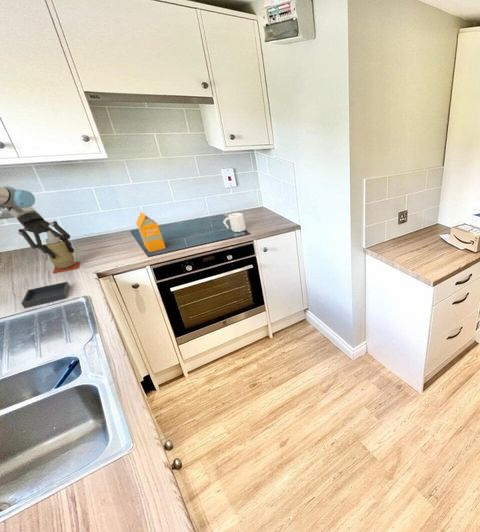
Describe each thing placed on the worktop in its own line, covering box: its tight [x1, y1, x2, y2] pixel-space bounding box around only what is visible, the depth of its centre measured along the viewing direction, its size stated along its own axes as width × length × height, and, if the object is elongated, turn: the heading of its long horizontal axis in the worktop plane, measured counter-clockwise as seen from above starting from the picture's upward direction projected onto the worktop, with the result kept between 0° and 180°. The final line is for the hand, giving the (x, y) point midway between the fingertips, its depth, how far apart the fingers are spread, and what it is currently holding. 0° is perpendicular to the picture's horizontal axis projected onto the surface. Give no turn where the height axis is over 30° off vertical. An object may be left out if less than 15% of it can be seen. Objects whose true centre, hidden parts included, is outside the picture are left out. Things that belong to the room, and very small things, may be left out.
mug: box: [222, 212, 247, 233], centre depth 204 cm, size 12×9×10 cm
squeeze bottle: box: [45, 231, 75, 268], centre depth 152 cm, size 8×8×18 cm
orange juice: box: [135, 211, 166, 253], centre depth 175 cm, size 8×9×20 cm
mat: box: [52, 261, 81, 274], centre depth 157 cm, size 9×9×1 cm
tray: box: [21, 281, 71, 309], centre depth 134 cm, size 12×12×2 cm
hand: (63, 254), depth 152 cm, fingers closed on squeeze bottle, 6 cm apart
